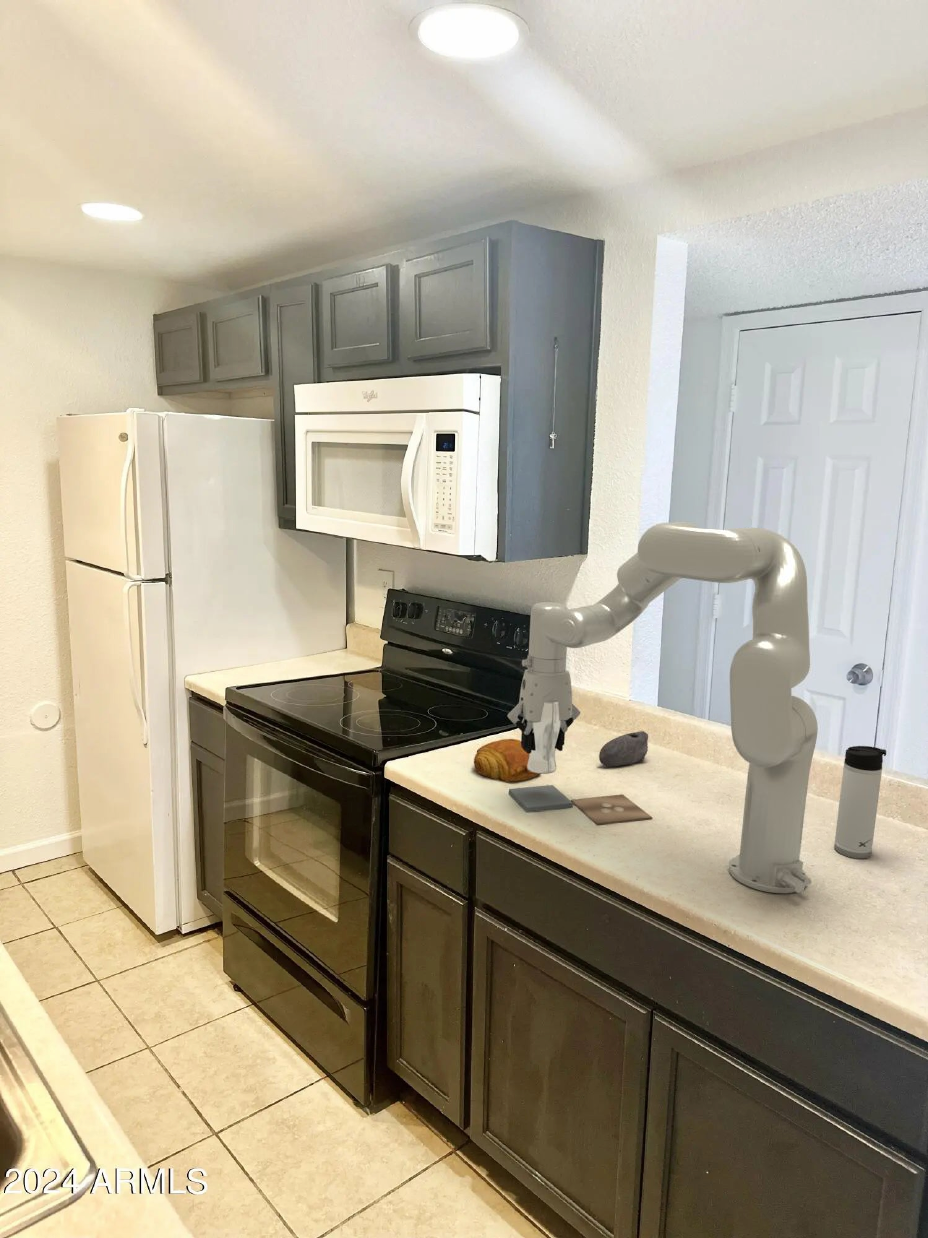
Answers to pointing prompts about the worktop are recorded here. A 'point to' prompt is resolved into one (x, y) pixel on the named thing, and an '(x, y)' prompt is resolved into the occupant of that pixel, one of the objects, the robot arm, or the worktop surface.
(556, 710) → the beer glass
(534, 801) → the rubber mat
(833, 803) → the worktop surface
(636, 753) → the perforated stone tool
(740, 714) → the robot arm
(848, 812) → the travel mug
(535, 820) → the worktop surface
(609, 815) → the dot tile
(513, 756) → the croissant
